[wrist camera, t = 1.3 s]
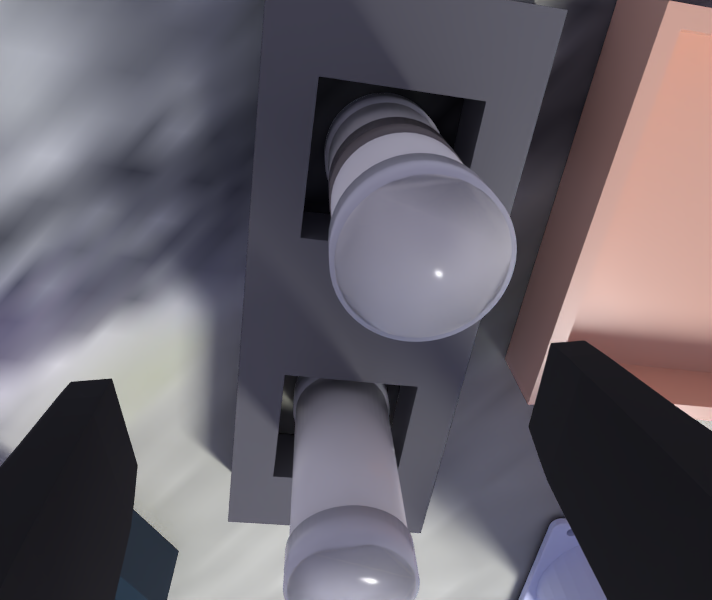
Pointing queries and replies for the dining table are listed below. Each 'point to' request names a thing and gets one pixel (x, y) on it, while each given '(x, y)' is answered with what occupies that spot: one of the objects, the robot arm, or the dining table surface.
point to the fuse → (346, 498)
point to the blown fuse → (411, 224)
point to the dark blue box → (146, 564)
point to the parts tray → (634, 214)
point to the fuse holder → (310, 230)
